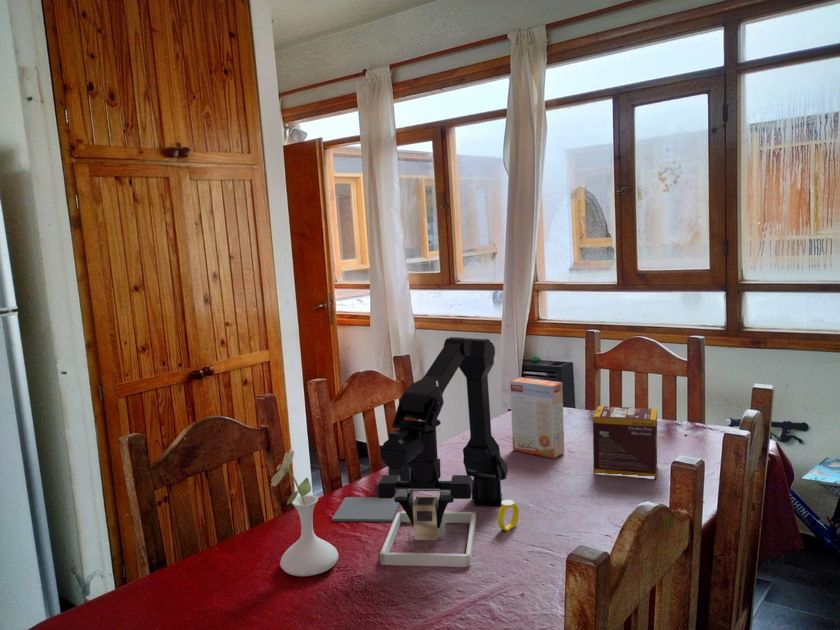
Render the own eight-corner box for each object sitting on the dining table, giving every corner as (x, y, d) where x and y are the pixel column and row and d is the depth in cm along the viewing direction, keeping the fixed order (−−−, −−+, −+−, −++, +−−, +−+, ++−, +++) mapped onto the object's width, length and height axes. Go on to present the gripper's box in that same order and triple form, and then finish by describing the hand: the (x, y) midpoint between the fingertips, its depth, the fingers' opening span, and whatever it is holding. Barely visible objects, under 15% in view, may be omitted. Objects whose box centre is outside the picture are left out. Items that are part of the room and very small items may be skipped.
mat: (401, 499, 157) (401, 497, 157) (392, 521, 146) (392, 519, 146) (345, 499, 160) (345, 497, 159) (332, 521, 148) (331, 518, 148)
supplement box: (656, 480, 161) (656, 419, 159) (593, 474, 167) (592, 416, 165) (658, 465, 171) (657, 408, 169) (597, 461, 176) (596, 405, 174)
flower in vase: (306, 548, 136) (297, 432, 132) (350, 559, 130) (342, 439, 127) (262, 578, 124) (251, 453, 121) (308, 592, 119) (297, 461, 115)
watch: (506, 536, 137) (504, 510, 136) (495, 532, 139) (493, 506, 138) (522, 523, 141) (520, 498, 140) (511, 520, 143) (509, 495, 142)
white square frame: (476, 521, 144) (475, 512, 143) (470, 566, 124) (469, 556, 124) (398, 520, 146) (397, 511, 146) (380, 564, 127) (379, 554, 127)
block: (445, 527, 142) (443, 497, 141) (443, 537, 137) (441, 505, 136) (425, 527, 142) (423, 496, 141) (422, 536, 138) (420, 505, 137)
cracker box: (565, 453, 183) (563, 381, 181) (554, 459, 179) (552, 386, 176) (523, 444, 193) (521, 375, 190) (512, 450, 188) (509, 380, 186)
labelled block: (439, 529, 132) (437, 496, 131) (437, 540, 128) (435, 505, 127) (418, 529, 133) (416, 496, 132) (414, 540, 128) (412, 505, 128)
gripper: (472, 439, 135) (475, 510, 137) (384, 439, 138) (389, 509, 140) (468, 457, 124) (472, 535, 126) (373, 457, 127) (378, 533, 129)
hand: (427, 527), depth 130 cm, fingers closed on labelled block, 4 cm apart
